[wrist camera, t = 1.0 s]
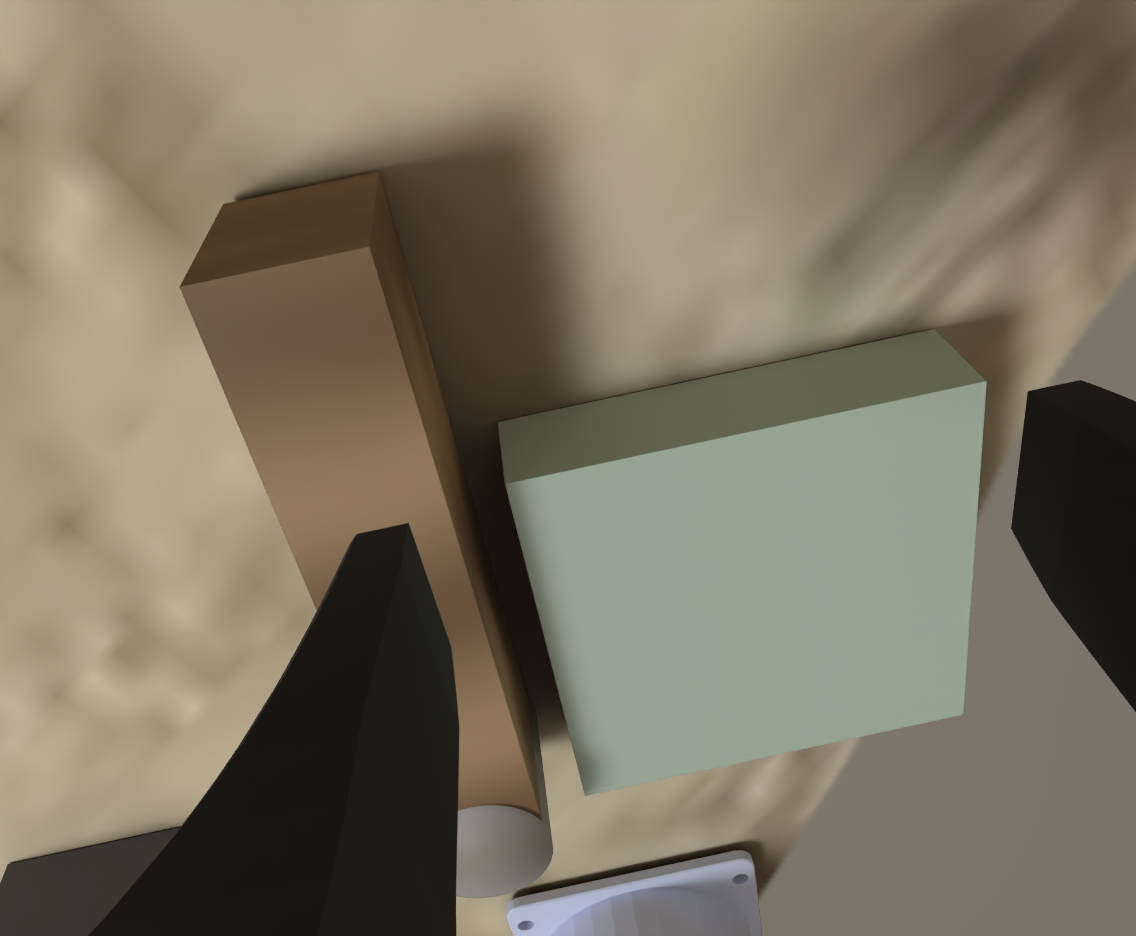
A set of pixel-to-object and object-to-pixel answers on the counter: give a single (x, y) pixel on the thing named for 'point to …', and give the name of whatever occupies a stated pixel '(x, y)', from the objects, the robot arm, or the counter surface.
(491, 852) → the folding leg
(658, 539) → the stool seat
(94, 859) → the leg stop
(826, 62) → the counter surface
